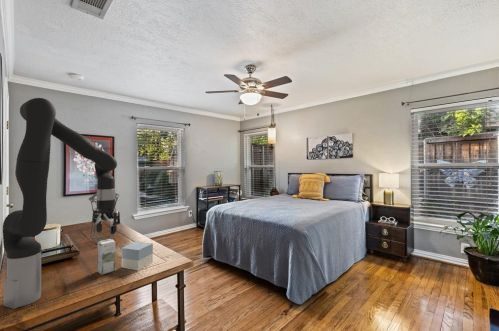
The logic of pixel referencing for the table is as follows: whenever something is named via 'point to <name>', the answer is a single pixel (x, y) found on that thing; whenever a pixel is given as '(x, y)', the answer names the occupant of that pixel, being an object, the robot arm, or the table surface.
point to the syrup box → (106, 256)
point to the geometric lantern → (95, 219)
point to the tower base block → (137, 262)
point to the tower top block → (137, 250)
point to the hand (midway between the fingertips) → (106, 232)
